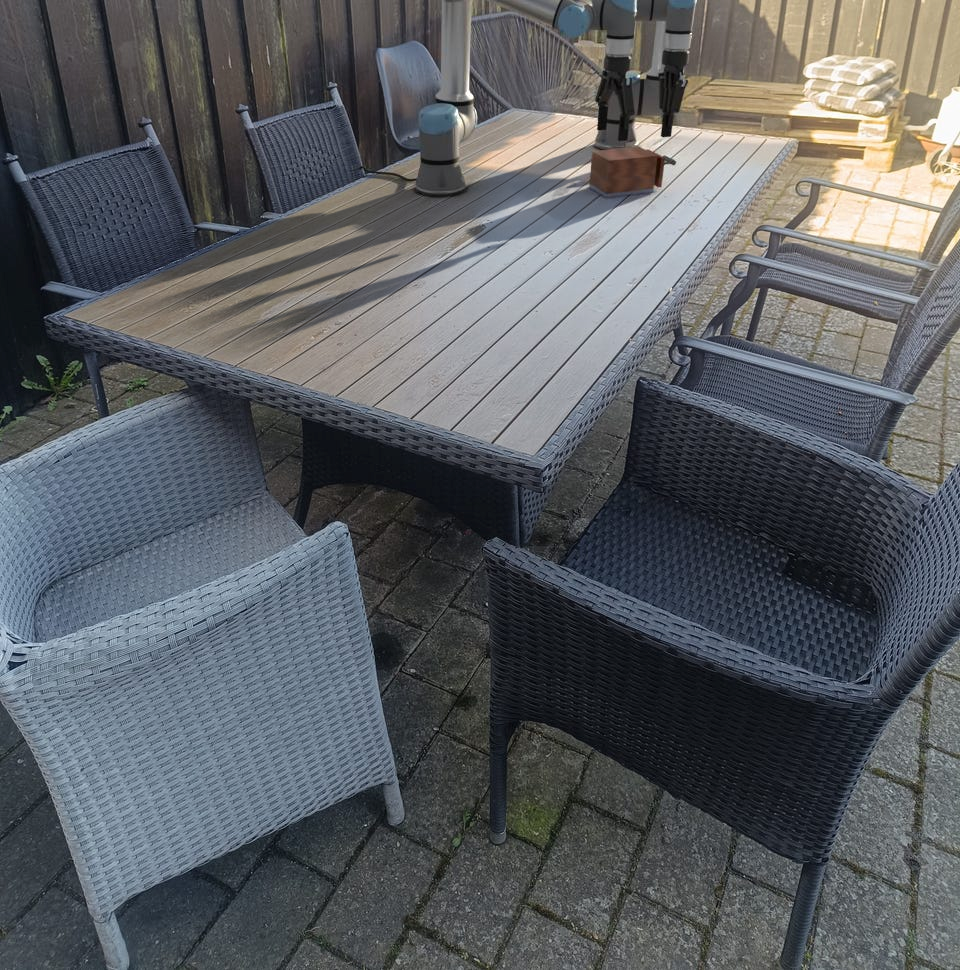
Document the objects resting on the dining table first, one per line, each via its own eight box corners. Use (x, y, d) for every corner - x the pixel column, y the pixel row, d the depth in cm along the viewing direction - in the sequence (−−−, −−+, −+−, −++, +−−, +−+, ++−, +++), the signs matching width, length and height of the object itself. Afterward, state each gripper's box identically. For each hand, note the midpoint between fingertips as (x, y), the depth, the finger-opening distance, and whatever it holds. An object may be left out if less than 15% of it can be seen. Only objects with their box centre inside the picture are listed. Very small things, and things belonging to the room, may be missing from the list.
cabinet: (635, 181, 265) (639, 146, 259) (653, 192, 257) (657, 155, 250) (589, 187, 261) (591, 151, 254) (606, 197, 252) (609, 160, 246)
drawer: (660, 176, 267) (663, 147, 262) (676, 185, 259) (680, 155, 254) (603, 183, 261) (605, 153, 256) (618, 192, 253) (621, 162, 248)
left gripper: (652, 61, 227) (643, 144, 239) (610, 47, 246) (604, 124, 258) (627, 63, 224) (620, 146, 237) (587, 48, 244) (582, 126, 256)
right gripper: (700, 52, 236) (688, 140, 250) (675, 45, 246) (665, 130, 260) (676, 53, 234) (666, 142, 248) (653, 46, 244) (644, 132, 258)
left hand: (611, 135), depth 247 cm, fingers open, 13 cm apart
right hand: (665, 136), depth 254 cm, fingers closed
